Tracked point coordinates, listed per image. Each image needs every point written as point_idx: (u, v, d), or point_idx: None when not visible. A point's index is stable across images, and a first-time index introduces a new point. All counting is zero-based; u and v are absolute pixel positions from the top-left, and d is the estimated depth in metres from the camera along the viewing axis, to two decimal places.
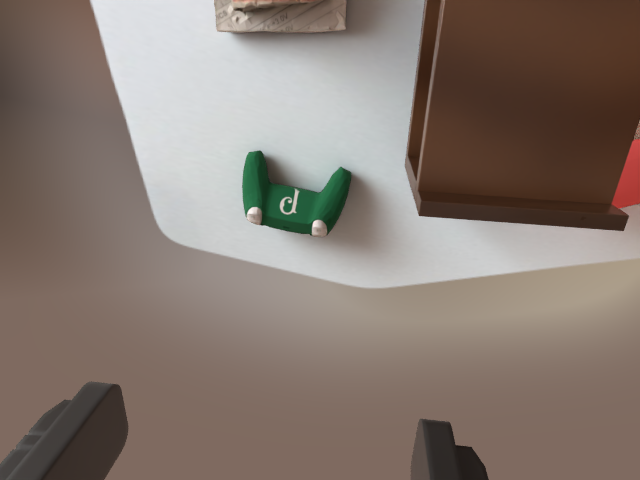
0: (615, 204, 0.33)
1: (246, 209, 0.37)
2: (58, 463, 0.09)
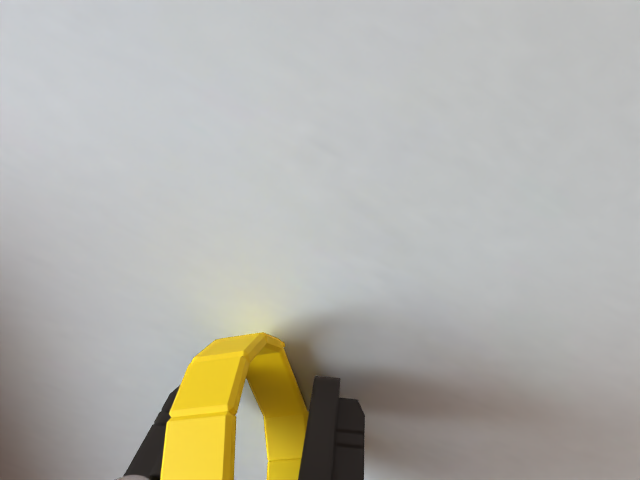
0: None
1: None
2: None
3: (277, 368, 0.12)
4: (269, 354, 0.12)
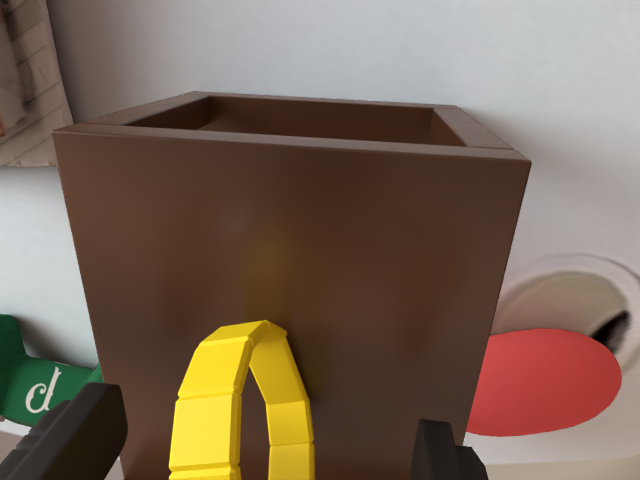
0: None
1: None
2: (58, 463, 0.09)
3: (279, 355, 0.13)
4: (271, 342, 0.12)
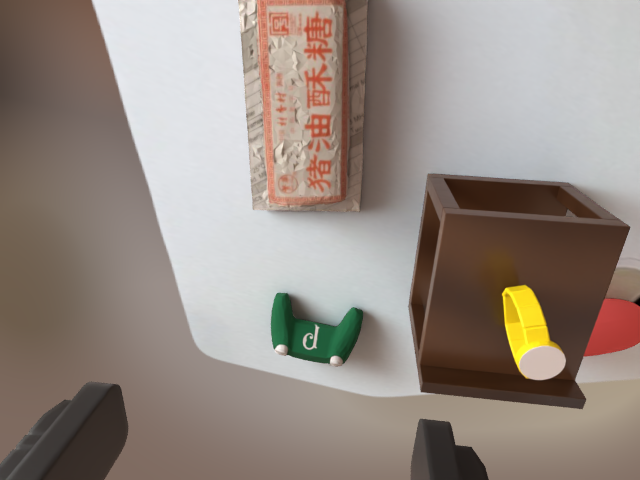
0: None
1: (274, 344, 0.44)
2: (58, 463, 0.09)
3: None
4: None
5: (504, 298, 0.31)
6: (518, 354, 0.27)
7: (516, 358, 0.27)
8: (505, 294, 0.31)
